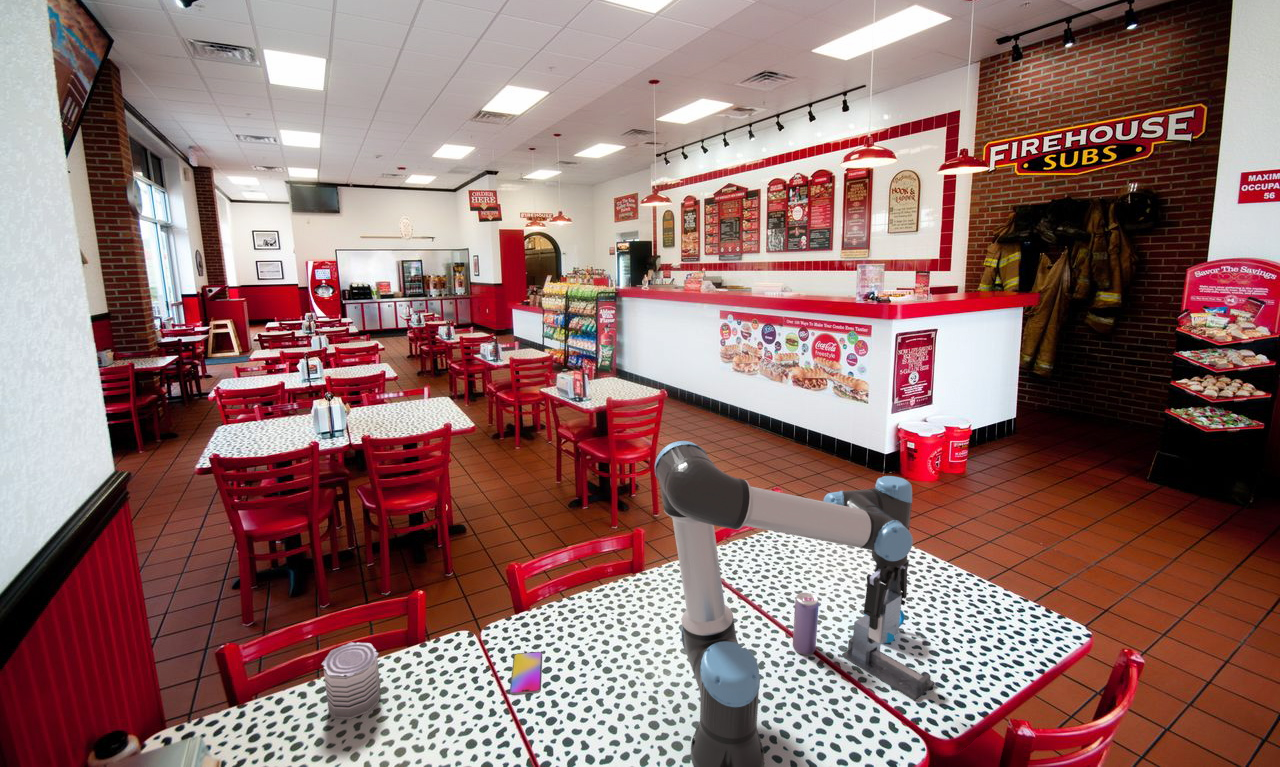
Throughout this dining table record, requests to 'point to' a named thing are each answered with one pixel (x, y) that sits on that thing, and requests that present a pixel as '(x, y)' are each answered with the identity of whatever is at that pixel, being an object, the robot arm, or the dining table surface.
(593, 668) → the dining table surface
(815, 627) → the beverage can
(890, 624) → the stepped metal block
